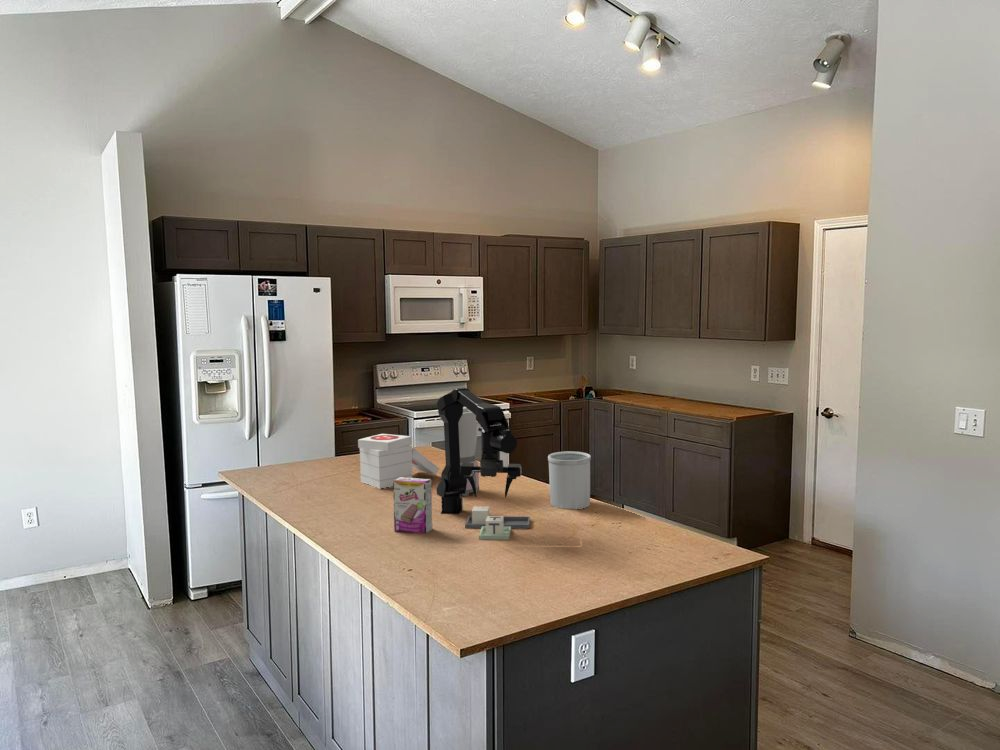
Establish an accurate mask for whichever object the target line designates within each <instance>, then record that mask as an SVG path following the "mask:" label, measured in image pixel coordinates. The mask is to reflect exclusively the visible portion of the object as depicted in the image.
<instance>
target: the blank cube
mask: <svg viewBox="0 0 1000 750" xmlns="http://www.w3.org/2000/svg"><path fill="white" fill-rule="evenodd" d="M471 516H472V524H486V519H487V516H490V506H487V505H486V506H485V505H484V506H475V505H473V507H472V510H471Z"/></svg>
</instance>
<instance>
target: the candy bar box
mask: <svg viewBox="0 0 1000 750" xmlns="http://www.w3.org/2000/svg"><path fill="white" fill-rule="evenodd" d="M392 488H393V527H394V528H393V529H394V532H401V531H403V532H404V533H411V532H412V533H419V534H427V533H428V532H430V531H432V530H433V506H432V505H433V503H432V502H433V501H432V499H433V498H432V496H433V495H432V479H431V478H418V477H417V478H416V477H412V478H408V477H399V478H397V479H394V480H393V487H392Z"/></svg>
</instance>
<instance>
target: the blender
mask: <svg viewBox="0 0 1000 750" xmlns="http://www.w3.org/2000/svg"><path fill="white" fill-rule="evenodd" d="M477 425H478V422H477V420H476V415H475V414H474V413H472V412H471V411H470V410H469V409H467V408H466V407H465V406H464V407H463V415H462V416H461V418H460V420H459V445H460V465H462V464H463V463H474V466H479V463H478V460H477V459H476V455H475V454H476V448H477V440H478V426H477ZM475 474H476V485H477V492H478V491H479V490H480V483H479V482H480V475H479V474H480V472H475ZM469 493H470V494H471V493H474V492H473V489H472V486H471V484H470V482H469V480H468V479H467V486H466V492H465V494H461V496H462V497H469Z"/></svg>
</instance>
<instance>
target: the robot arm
mask: <svg viewBox="0 0 1000 750" xmlns="http://www.w3.org/2000/svg"><path fill="white" fill-rule="evenodd" d="M436 407H437V412H438V416H439V418H440V419H441V420H442V423H443V432H444V433H443V434H444V437H443V438H444V453H445V454H444V455H445V466H444V468H443V470H442V472H441V474H440V476H441V477H440V481H439V483H438V485H437V486H436V487H435V490H436V495H437V496H440V497H441V512H440V514H441V515H460V514H461V513H462V512H463V510H464V504H463V503H464V500H463V499H464V498H463V496H462V494H465V492H466V486H467V479H468V480H469V482H470V484H471V486H472V489H473V492H472V493H473V494H474V498H476V497H478V491H477V485H476V474H475V472H479V474H480V476H481V477H483V478H485V477H491V478H495V477H497V474H507V475H506V479H505V480H506V482H505V490H504V498H505V499H506V498H508V497H507V496H508V492H509V490H510V487H511V484H512V482H513V480H516V479H517V478H518V477H521V475H522V465H521V463H508V465H507V466H504V460H503V459H501V452H502V453H505V454H512V453H513V452H514V451H515V450H516V448H517V445H518V440H517V439H516V437H515V435H513V434H512V430H511V429H510V426H509V422H508V420H507V418H506V416H505V413H504V411H503V409H502V407H500V406H499V405H496V404H494V403H488V402H485V401H484V400H482V399H481V398H480V397H478V396H477V395H475V394H474V393H473V392H472V391H471V390H470V389H469V388H467V387H460V388H458V387H457V388H455V389H452V390H451V392H448V393H446V394H444V395H443V396H440V397H439V399H437V402H436ZM463 407H466V408H467V409H468V410H470V411H471V412H472V413H474V414H475V415H476V421H477V424H479V425H480V427H478V428H477V432H478V431H479V432H480V433H481V435H480V437H481V438H480V439H481V440H480V443H481V445H480V446H481V450H480V453H481V456H480V457H481V458H480V463H479V465H478V466H474V463H463V464H462V465H460V445H459V420H460V418H461V416H462V415H463Z"/></svg>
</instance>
